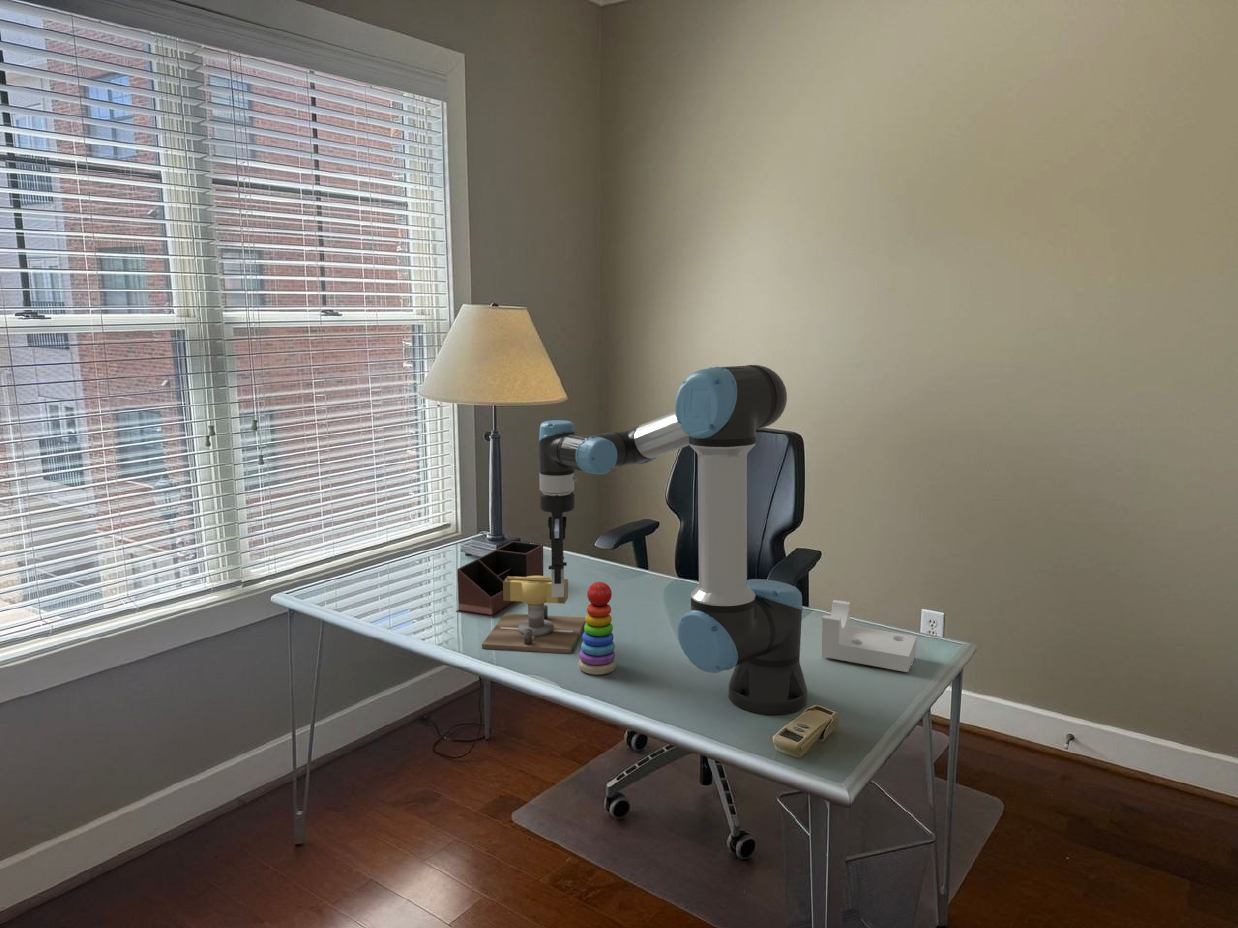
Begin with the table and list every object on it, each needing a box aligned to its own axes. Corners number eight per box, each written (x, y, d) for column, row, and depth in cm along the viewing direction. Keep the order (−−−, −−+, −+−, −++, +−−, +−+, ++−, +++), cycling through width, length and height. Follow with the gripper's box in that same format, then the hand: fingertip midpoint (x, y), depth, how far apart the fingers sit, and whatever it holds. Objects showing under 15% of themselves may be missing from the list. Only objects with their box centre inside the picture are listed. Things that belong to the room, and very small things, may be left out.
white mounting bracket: (821, 661, 193) (822, 617, 190) (832, 642, 201) (833, 599, 198) (907, 677, 185) (910, 631, 182) (915, 656, 193) (917, 612, 190)
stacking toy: (602, 679, 182) (603, 591, 178) (570, 670, 186) (570, 584, 183) (623, 666, 188) (624, 581, 185) (591, 658, 192) (591, 574, 189)
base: (570, 653, 195) (570, 617, 193) (481, 648, 198) (481, 612, 196) (586, 621, 214) (586, 588, 213) (505, 617, 217) (504, 584, 216)
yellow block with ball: (569, 595, 207) (569, 575, 206) (563, 605, 200) (563, 585, 199) (509, 592, 209) (509, 573, 208) (501, 602, 202) (501, 582, 201)
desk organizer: (546, 583, 244) (545, 543, 242) (492, 618, 217) (491, 574, 215) (512, 579, 247) (511, 540, 245) (455, 613, 221) (453, 569, 218)
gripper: (574, 498, 187) (574, 605, 191) (574, 485, 200) (575, 586, 204) (538, 498, 187) (539, 606, 191) (541, 485, 200) (542, 586, 204)
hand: (557, 595), depth 198 cm, fingers closed
